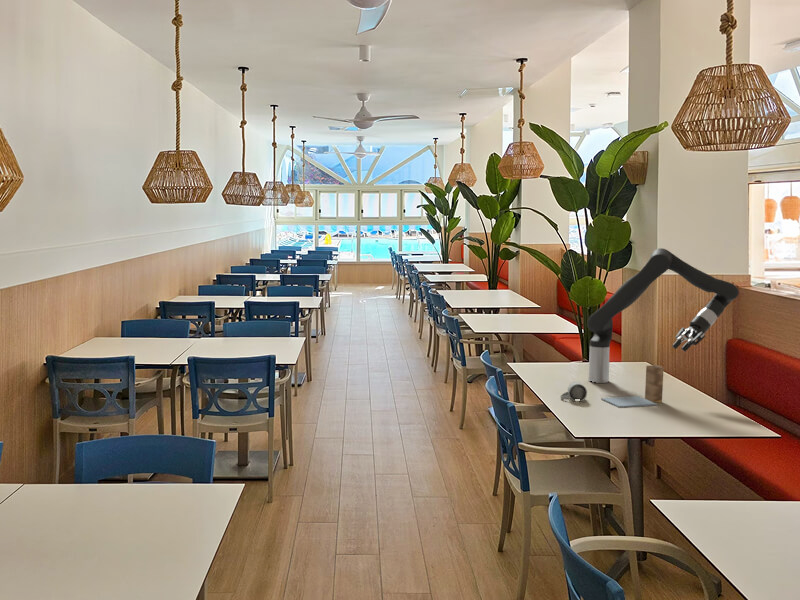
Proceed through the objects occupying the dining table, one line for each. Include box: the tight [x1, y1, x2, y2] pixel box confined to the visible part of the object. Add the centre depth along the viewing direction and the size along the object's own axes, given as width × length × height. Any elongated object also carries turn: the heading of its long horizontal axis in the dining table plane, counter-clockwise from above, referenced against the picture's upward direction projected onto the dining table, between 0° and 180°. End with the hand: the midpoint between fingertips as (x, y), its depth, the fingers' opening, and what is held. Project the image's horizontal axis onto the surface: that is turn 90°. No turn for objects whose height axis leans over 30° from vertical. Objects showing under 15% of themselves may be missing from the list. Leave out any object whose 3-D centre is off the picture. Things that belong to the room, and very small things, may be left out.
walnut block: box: [644, 364, 665, 403], centre depth 309 cm, size 5×5×15 cm
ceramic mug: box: [559, 381, 588, 402], centre depth 311 cm, size 11×8×8 cm
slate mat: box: [600, 395, 658, 409], centre depth 307 cm, size 18×14×1 cm
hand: (678, 348), depth 310 cm, fingers open, 5 cm apart
